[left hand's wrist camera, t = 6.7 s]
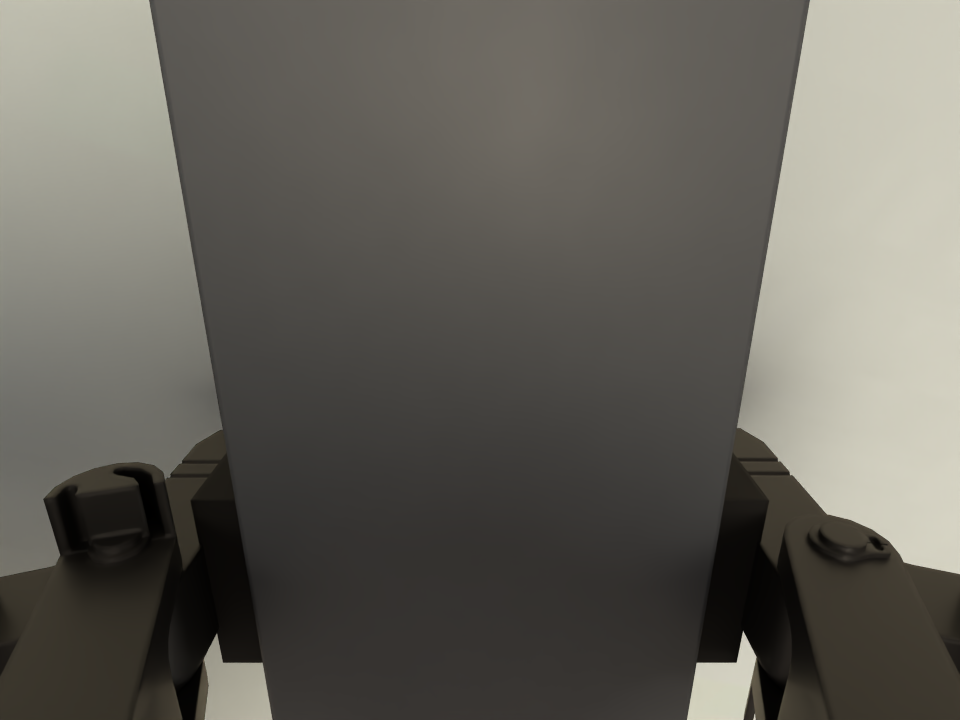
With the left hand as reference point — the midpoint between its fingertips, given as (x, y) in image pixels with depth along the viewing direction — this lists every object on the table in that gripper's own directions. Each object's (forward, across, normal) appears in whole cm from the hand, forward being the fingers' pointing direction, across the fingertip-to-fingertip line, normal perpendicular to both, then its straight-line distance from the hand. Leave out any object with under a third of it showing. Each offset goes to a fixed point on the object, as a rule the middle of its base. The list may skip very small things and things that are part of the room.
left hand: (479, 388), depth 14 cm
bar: (0, 0, -23) cm, 23 cm away
